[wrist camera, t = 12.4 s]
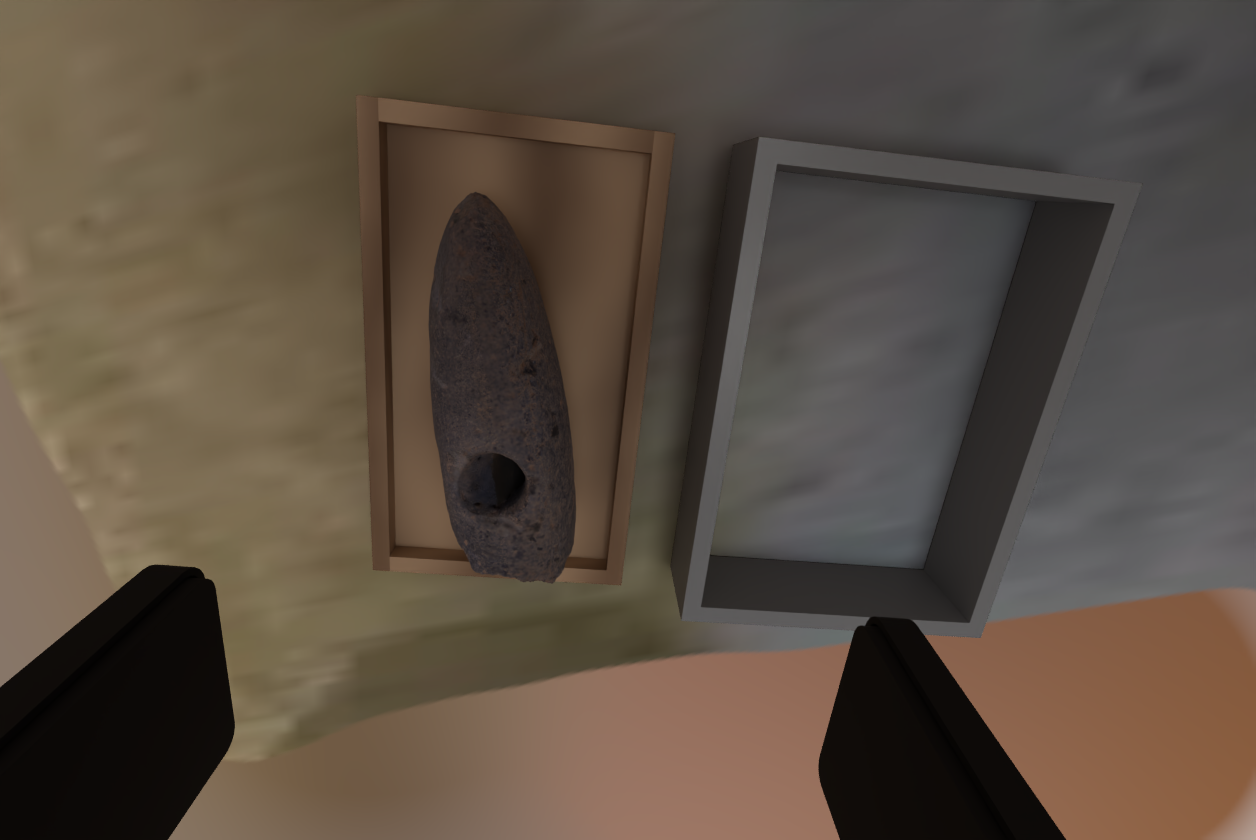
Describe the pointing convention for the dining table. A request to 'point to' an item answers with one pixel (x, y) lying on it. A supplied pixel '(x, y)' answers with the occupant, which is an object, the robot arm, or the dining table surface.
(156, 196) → the dining table surface
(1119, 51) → the dining table surface
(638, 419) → the walnut tray
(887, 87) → the dining table surface
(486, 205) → the perforated stone tool
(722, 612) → the charcoal bin
